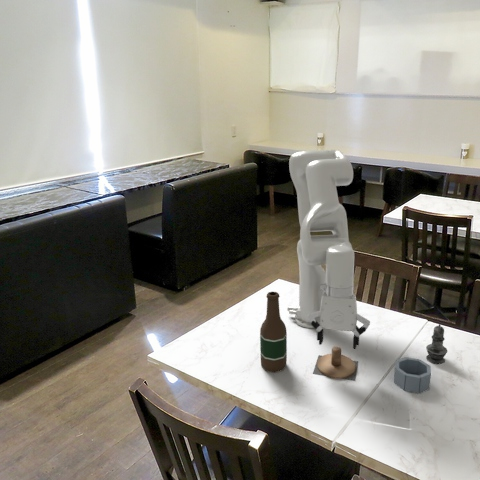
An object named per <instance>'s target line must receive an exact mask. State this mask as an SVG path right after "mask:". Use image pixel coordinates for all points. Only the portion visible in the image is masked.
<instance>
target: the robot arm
mask: <svg viewBox="0 0 480 480" xmlns="http://www.w3.org/2000/svg"><path fill="white" fill-rule="evenodd" d="M288 165H289V166H288V167H289V169H288V170H289V173H290V174H289V175H290V178H291V180H292V182H293V183H292V184H293V186H294V188H295V191H296V195H297V197H296V199H297V209H298V210H297V211H298V213H297V214H298V220H299V226H300V231H299V232H300V233H299V239H298V241H297V245H296V252H297V253H296V254H297V258H298V267H299V270H298V272H299V286H298V287H299V292H298V295H299V297H298V299H299V300H298V302H299V303H298V305H299V306H298V305H296V306H291V305H288V306H287V311H288V312H289V315H295V316H294V322H295V323H296V324H297V325H298V326H300V327H303V328H305V329H310V330H311V329H313V330H314V329H315V331H316V332H317V333H316V340H317V341H318V345H320V346H321V345H322V344H323V342H324V329H327V330H333V331H334V330H335V331H341V332H351V333H353V338H352V341H353V342H352V349H353V350H356V349H357V346H359V344H360V336H361V335H362V334H364V333H365V332H366V331H367V329H368V328H369V326H370V325H371V321H370V320H369V319H368V318H365V317H363V315H360V314H358V305H357V304H358V303H357V297H356V294H355V293H354V277H355V276H354V274H355V250H354V249H353V246H352V243H351V242H350V238H349V229H348V227H349V226H348V218H347V211H346V209H345V207H344V206H343V205H342V203H340V201H339V197H338V196H339V195H338V190H337V187H340V186H341V187H342V186H345V187H347V186H349V185H350V184H352V183H353V179H354V169H353V165H352V163H351V161H350V160H349V158H348V157H347V156H346V155H345V154H344V152H342V151H341V150H339V149H319V150H318V149H314V150H300V151H297V152H295V153H293V154H291V156H290V157H289V162H288ZM311 232H313V233H314V232H331V233H332V234H320V235H319V234H318V235H311ZM322 266H325V269H324V267H322ZM358 322H359V323H360V324H363V325H362V326H360V327H359V326H358V325H357V323H358Z"/></svg>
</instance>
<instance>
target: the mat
mask: <svg viewBox="0 0 480 480" xmlns="http://www.w3.org/2000/svg"><path fill="white" fill-rule="evenodd" d="M321 356H322V355H320V354H319V355H318V356H317V360H316V363H315V365H314V369H313V372H312V374H313V375H318V376H324V377H326V376H325V375H323V374H322V373H321V372H320V371H319V370H318V368H317V361H318V359H319V358H320V357H321ZM353 361H354V363H355V372H354V373H353V375H351V376H349V377H347V378H342V379H341V380H348V381H354V382H356V378H357V372H358V366H359V361H358V360H353Z"/></svg>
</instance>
